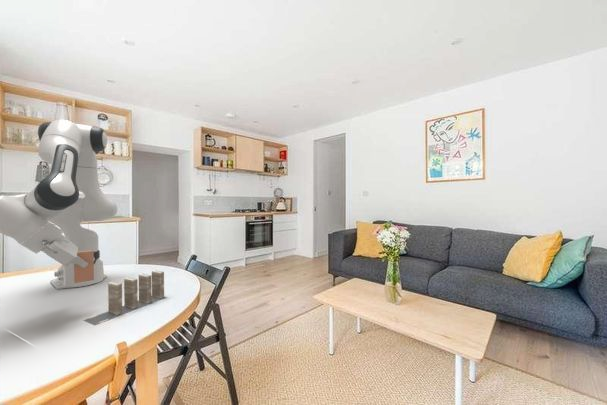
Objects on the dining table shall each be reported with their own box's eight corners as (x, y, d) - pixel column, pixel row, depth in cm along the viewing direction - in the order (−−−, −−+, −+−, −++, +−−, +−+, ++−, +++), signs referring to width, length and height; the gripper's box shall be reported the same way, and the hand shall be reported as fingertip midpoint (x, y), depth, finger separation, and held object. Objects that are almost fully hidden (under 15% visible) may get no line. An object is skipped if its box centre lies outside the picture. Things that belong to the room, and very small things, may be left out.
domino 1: (117, 315, 83) (116, 285, 83) (108, 312, 86) (108, 282, 85) (122, 313, 85) (122, 283, 85) (113, 310, 87) (113, 281, 87)
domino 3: (147, 303, 92) (147, 276, 92) (138, 301, 95) (138, 274, 94) (151, 302, 94) (151, 275, 94) (143, 299, 96) (142, 273, 96)
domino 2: (132, 309, 88) (132, 280, 88) (124, 306, 90) (124, 278, 90) (137, 307, 89) (137, 279, 89) (129, 304, 92) (128, 277, 91)
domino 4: (160, 299, 97) (160, 272, 97) (151, 296, 99) (151, 271, 99) (164, 297, 98) (163, 271, 98) (155, 295, 101) (155, 270, 100)
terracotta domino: (74, 282, 85) (73, 252, 85) (93, 278, 88) (93, 250, 88) (74, 283, 84) (73, 253, 84) (93, 280, 87) (93, 250, 87)
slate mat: (82, 321, 80) (82, 319, 80) (155, 295, 102) (155, 294, 102) (94, 326, 77) (94, 324, 77) (167, 298, 99) (167, 297, 99)
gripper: (51, 235, 73) (95, 263, 80) (57, 228, 89) (94, 252, 95) (29, 252, 70) (77, 280, 77) (39, 242, 86) (78, 266, 93)
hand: (86, 264), depth 86 cm, fingers closed on terracotta domino, 2 cm apart
